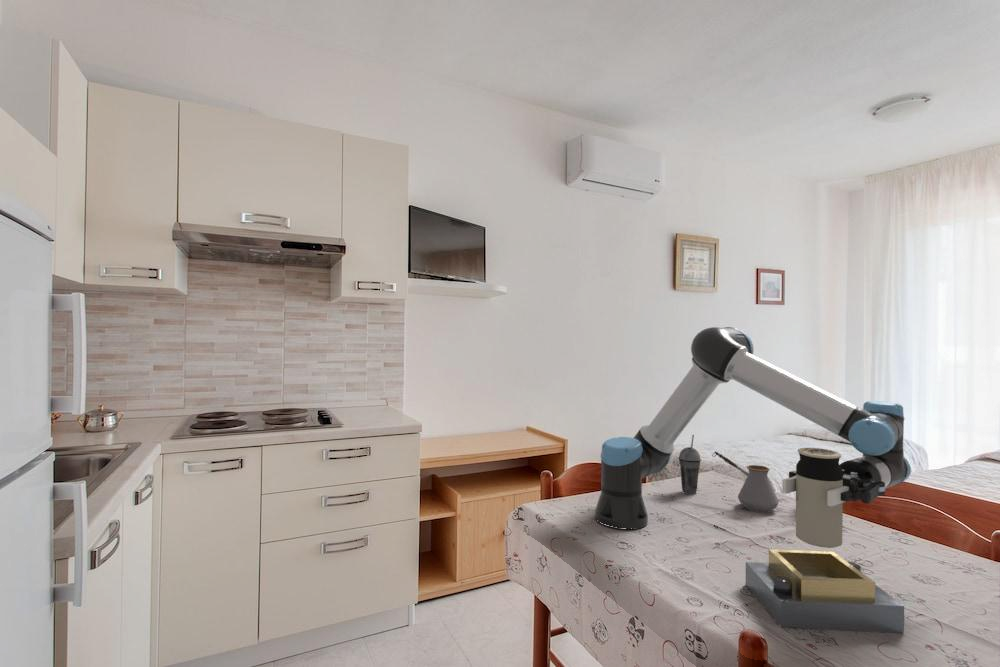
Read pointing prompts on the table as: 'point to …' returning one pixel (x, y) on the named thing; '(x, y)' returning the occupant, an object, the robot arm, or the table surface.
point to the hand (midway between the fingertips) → (806, 492)
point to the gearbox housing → (822, 593)
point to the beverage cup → (689, 468)
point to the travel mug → (818, 497)
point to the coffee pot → (755, 488)
